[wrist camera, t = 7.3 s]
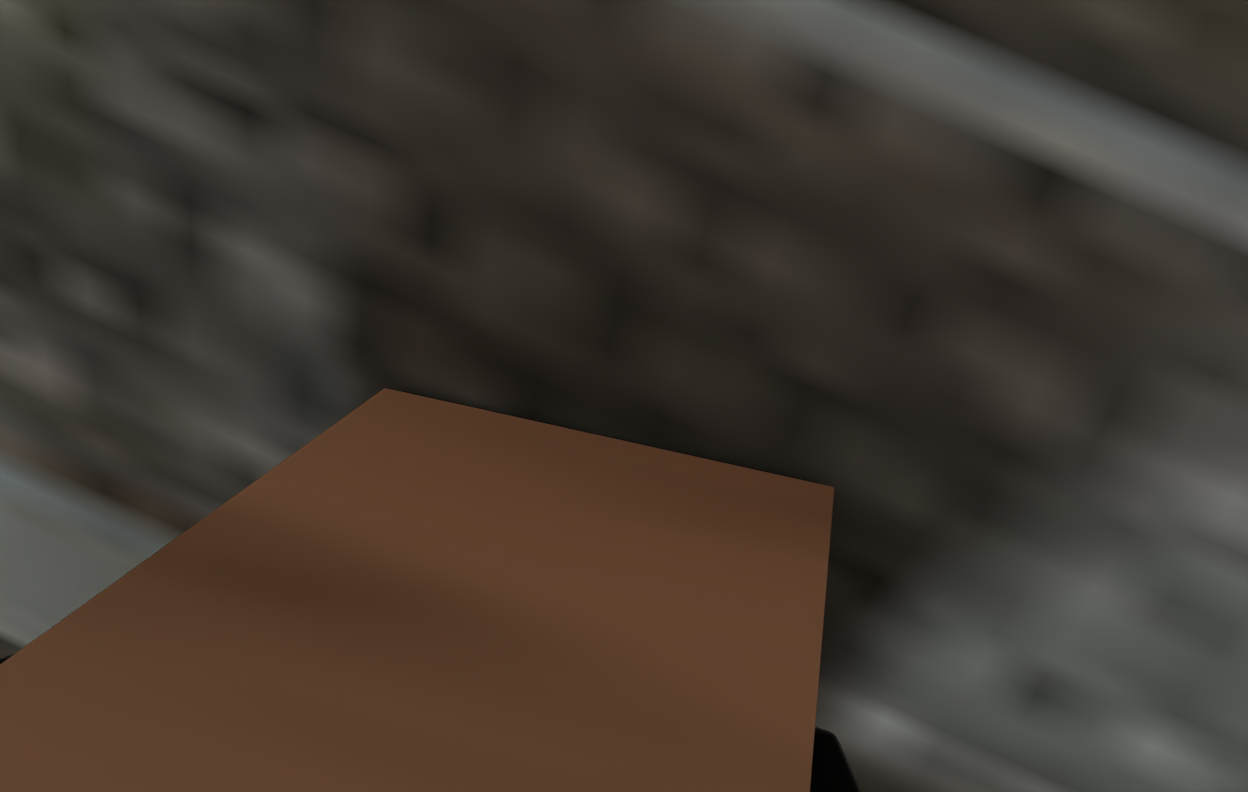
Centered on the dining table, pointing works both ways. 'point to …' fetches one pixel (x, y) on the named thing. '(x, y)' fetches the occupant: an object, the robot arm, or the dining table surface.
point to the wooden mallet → (447, 625)
